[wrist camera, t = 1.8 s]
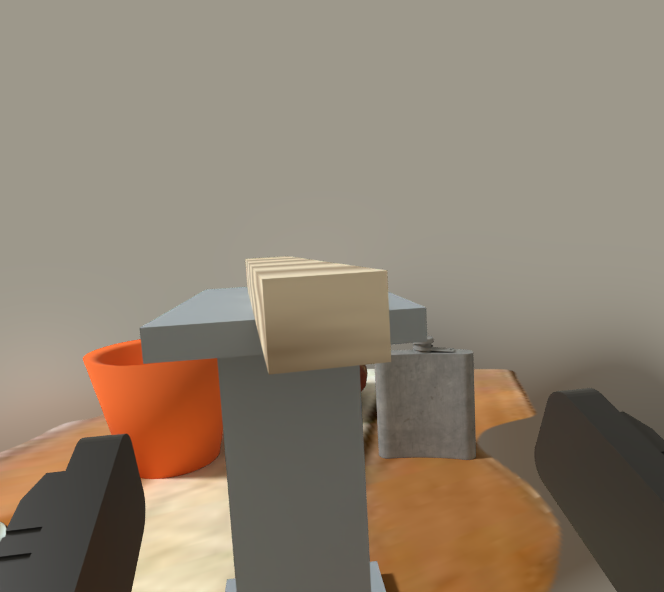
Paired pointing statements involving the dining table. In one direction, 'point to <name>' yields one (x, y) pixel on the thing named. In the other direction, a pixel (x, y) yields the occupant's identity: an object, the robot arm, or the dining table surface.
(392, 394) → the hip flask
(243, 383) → the stand
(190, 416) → the flowerpot
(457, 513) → the dining table surface
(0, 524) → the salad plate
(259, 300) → the ash bar
